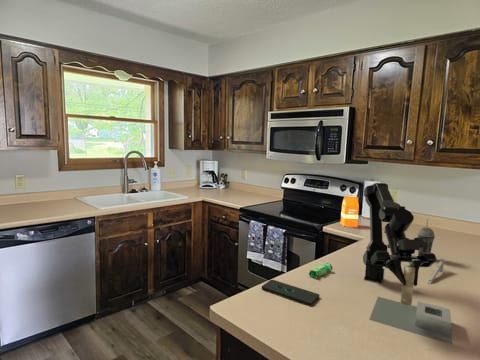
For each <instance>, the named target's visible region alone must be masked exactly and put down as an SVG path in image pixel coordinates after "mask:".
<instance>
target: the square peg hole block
mask: <svg viewBox="0 0 480 360" xmlns="http://www.w3.org/2000/svg"><path fill="white" fill-rule="evenodd" d="M416 307H417V311H416V320H415V326H418V327H421V328H425V329H428V330H432V331H435V332H439V333H442V334H446V335H449V336H450V329H451V330H452V318H451V317H452V316H451V309H449V308H446V307H441V306H437V305H434V304H430V303H427V302H422V301H419V300H418V301H417V302H416Z"/></svg>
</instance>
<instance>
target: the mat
mask: <svg viewBox="0 0 480 360" xmlns="http://www.w3.org/2000/svg"><path fill="white" fill-rule="evenodd" d="M416 311H417V305H416V306H415V305H412V304H411V305H405V304H402V303H401V301H396V300H393V299H390V298H385V297H381V296H377V297H376V301H375V304H374V306H373V309H372V311H371V314H370V316H369V321H372V322H376V323H379V324H382V325H385V326H389V327H392V328H396V329H399V330H402V331H405V332H409V333H412V334H416V335H420V336H421V337H424V338H430V339H432V340H436V341H439V342H442V343H445V344H449V345H453V335H452V328H451V329H450V336H449V335H446V334H442V333H439V332H435V331H432V330H428V329H425V328H421V327H418V326H415V320H416Z"/></svg>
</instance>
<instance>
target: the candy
mask: <svg viewBox="0 0 480 360" xmlns="http://www.w3.org/2000/svg"><path fill="white" fill-rule="evenodd" d="M332 270H333V266H332V264H331V263H328V262H327V263H325V264H324V265H323V264H321V265H318V266H316V267H315V269H311V270H310V271H309V272H308V275H309V277H310V278H311V277H312V278H314V279H316V278H317V277H322V276H323V275H325V274H327V272H331V271H332Z"/></svg>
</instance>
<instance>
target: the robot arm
mask: <svg viewBox="0 0 480 360" xmlns="http://www.w3.org/2000/svg"><path fill="white" fill-rule="evenodd" d="M363 196H364V197H365V202H366V204H367V205H368V207H369V229H370V230H369V231H370V232H369V235H370V237H369V238H370V241H369V243H368V244H367V246H366V250H365V252H364V253H363V255H362V262H363V264H364V265H365V271H364V272H365V273H364V277H363V279H364V280H367V281H370V282H376V283H379V284H380V283H382V282H383V281H384V279H385V269H388V270H389V271H390V272H391V273H392V274H393V275H394V276H395V277H396V278H397V280H398V281H399V282H400V283H401V284H403V285H404V286H405V285H406V281H405V277H404V270H403V269H402V263H408V266H412V267H414V268H415V276H414V286H413V287H417V286H418V278H419V270H420V268H429V267H431V266H432V265H433V264H435V263H436V262H437V261H438V259H437V256H436V254H435V253H433V252H431V253H427V252H421V253H420V254H419V255H418V254H417V255H414V254H416V251H418V250H420V248H424V247H425V244H424V240H423V238H422V237H418V236H417V237H414V239H410V238H409V237H407V236H406V233H405V232H406V231H408V229H409V227H411V224H412V223H413V221H414V218H415V217H414V215H413V214H412V212H411V211H409V210H408V209H406V206H402V205H401V204H400V203H398V202H395V200H394V199H393V196H392V195H391V192H390V190H389V184H387V183H385V182H375V183H373V184H370V185H367V186H366V187H365V188H364V189H363ZM383 223H387V224H385V226H384V229H383ZM383 230H384V234H385V236H386V239H387V241H388V242H387V243H388V244H385V243H384V240H383ZM388 249H389V250H390V253H389V251H388Z"/></svg>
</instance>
